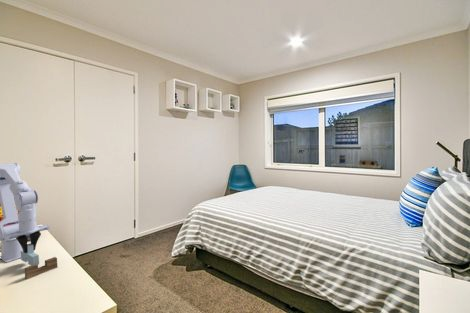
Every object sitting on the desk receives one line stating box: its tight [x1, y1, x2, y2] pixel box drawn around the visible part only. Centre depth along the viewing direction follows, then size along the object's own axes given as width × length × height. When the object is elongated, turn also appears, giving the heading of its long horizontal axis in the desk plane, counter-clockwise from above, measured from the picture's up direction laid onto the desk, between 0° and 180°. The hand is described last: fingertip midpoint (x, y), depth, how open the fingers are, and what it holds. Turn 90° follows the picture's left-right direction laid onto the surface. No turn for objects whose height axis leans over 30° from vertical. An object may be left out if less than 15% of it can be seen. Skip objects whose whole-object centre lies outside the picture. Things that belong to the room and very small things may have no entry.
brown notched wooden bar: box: [24, 256, 58, 280], centre depth 94 cm, size 2×10×4 cm, turn 151°
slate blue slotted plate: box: [20, 242, 40, 266], centre depth 99 cm, size 12×2×8 cm, turn 60°
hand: (29, 251), depth 99 cm, fingers closed on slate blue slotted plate, 2 cm apart
